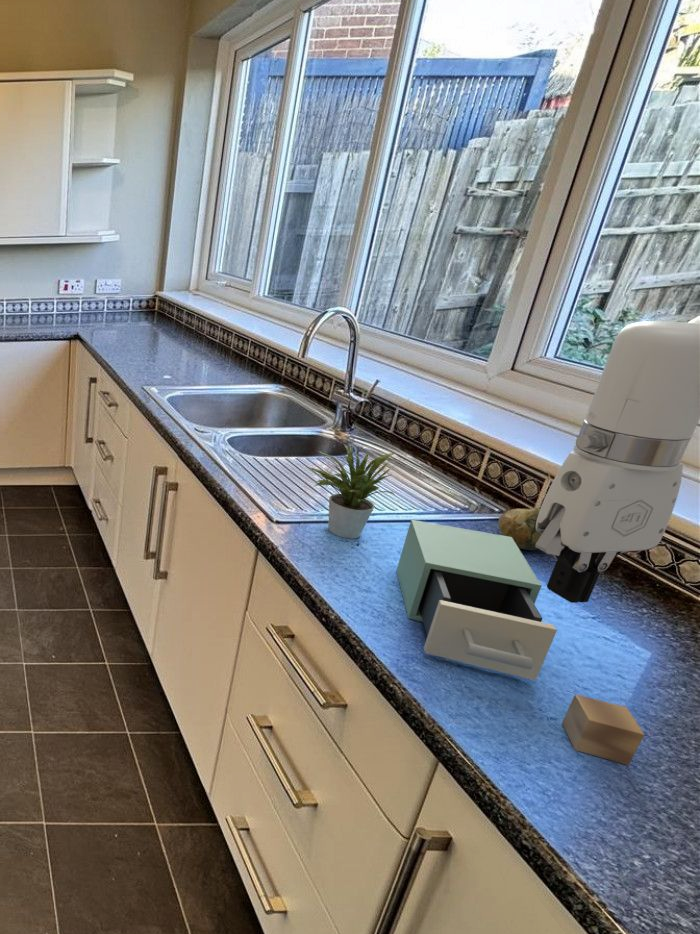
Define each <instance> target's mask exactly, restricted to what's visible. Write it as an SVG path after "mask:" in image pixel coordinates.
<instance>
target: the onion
mask: <svg viewBox="0 0 700 934" xmlns="http://www.w3.org/2000/svg"><path fill="white" fill-rule="evenodd" d="M540 509H541V508H539V507H535V506H534V509H533V508H532V509H531V508H511V509H509V510H507V511H506V512H505V513H503V514H501V516H500V517H499V518H498V523H497V525H498V530H499V533H500V535H503V536H508V537H512V538H513V540H514V542H515V543H516V545H517V546H518V548H519V550H526V551H535V550H538V549H537V548H536V547H535V545H536V543H537V541H538V540H539V538H540V536H541V535H542V534H540V533H538V532H537V531H536V521H537V518H538V514H539V511H540Z"/></svg>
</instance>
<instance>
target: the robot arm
mask: <svg viewBox="0 0 700 934" xmlns="http://www.w3.org/2000/svg"><path fill="white" fill-rule="evenodd" d="M699 422H700V315H698V316H696V317H695V318H693V319H691V320H689V321H687V322H685V321H684V322H683V321H673V320H672V321H668V320H642V321H636V322H633V323H629V324H627V325H626V326H624V327H623V328H621V330H620V331H619V332H618V333H617V334H616V337H615V339H614V341H613V344H612V347H611V348H610V352H609V354H608V357H607V359H606V362H605V365H604V368H603V370H602V372H601V375H600V378H599V381H598V383H597V386H596V389H595V391H594V394H593V396H592V398H591V401H590V404H589V407H588V409H587V412H586V415H585V417H584V420H583V423H582V425H581V428H580V430H579V433H578V436H577V438H576V439H575V443H574V446H573V450H572V451H570V452H569V454H568V455H567V457H566V458H565V460H564V461H563V463H562V465H561V466H560V468H559V469H558V471H557V473H556V474H555V476H554V479H553V480H552V482H551V484H550V486H549V488H548V490H547V492H546V494H545V497H544V498H543V501H542V504H541V507H540V508H539V509H540V511H539V514H538V518H537V521H536V531H537V532H538V533H540V534H542V535H541V536H540V538H539V540H538V541H537V543H536V545H535V547H536V548H537V549H536V550H540V551H541V552H543V553H545V554H547V555H551V556H552V557H553V559H554V560H556V562H555V564H554V566H553V569H552V572H551V574H550V577H549V579H548V582H547V584H546V588H547V590H549V591H550V592H552V593H554V594H555V595H557V596H558V597H561V598H562V599H564V600H566V601H567V602H569V603H571V604H575V603H576V604H577V603H587V602H589V600H590V597H591V595H592V593H593V590H594V589H595V586H596V584H597V581H598V579H599V577H600V574H601V572H605V571H606V570H608V568H609V567H610V565H611V563H612V562H613V560H614V559H615V558H617V556H619V555H620V554H623V553H627V552H638V551H646V550H650V549H653V548H655V547H657V546H658V545H659V544H660V542H661V540H662V539H663V536H664V534H665V532H666V529H667V527H668V525H669V522H670V520H671V516H672V514H673V511H674V508H675V505H676V502H677V499H678V496H679V492H680V489H681V485H682V478H683V468H684V464H683V462H681V461H682V459H683V457H684V454H685V452H686V451H687V448H688V446H689V443H690V441H691V439H692V437H693V434H694V432H695V430H696V428H697V426H698V424H699Z"/></svg>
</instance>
